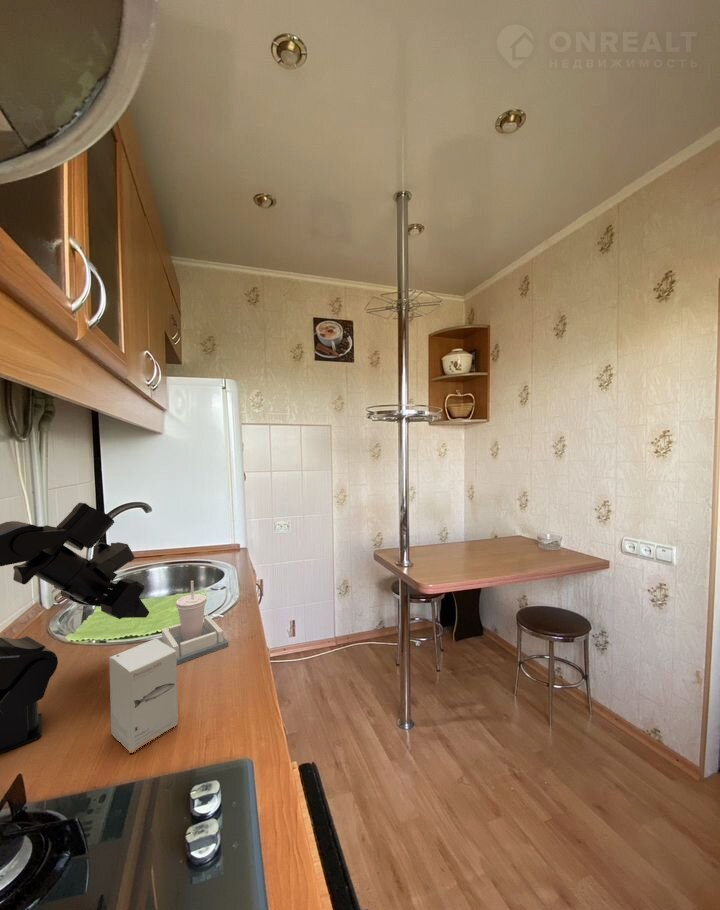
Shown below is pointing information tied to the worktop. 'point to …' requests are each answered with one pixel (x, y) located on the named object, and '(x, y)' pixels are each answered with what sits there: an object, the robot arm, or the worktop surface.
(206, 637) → the bottle holder
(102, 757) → the worktop surface
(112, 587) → the robot arm
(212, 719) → the worktop surface
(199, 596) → the smoothie
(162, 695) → the supplement box
